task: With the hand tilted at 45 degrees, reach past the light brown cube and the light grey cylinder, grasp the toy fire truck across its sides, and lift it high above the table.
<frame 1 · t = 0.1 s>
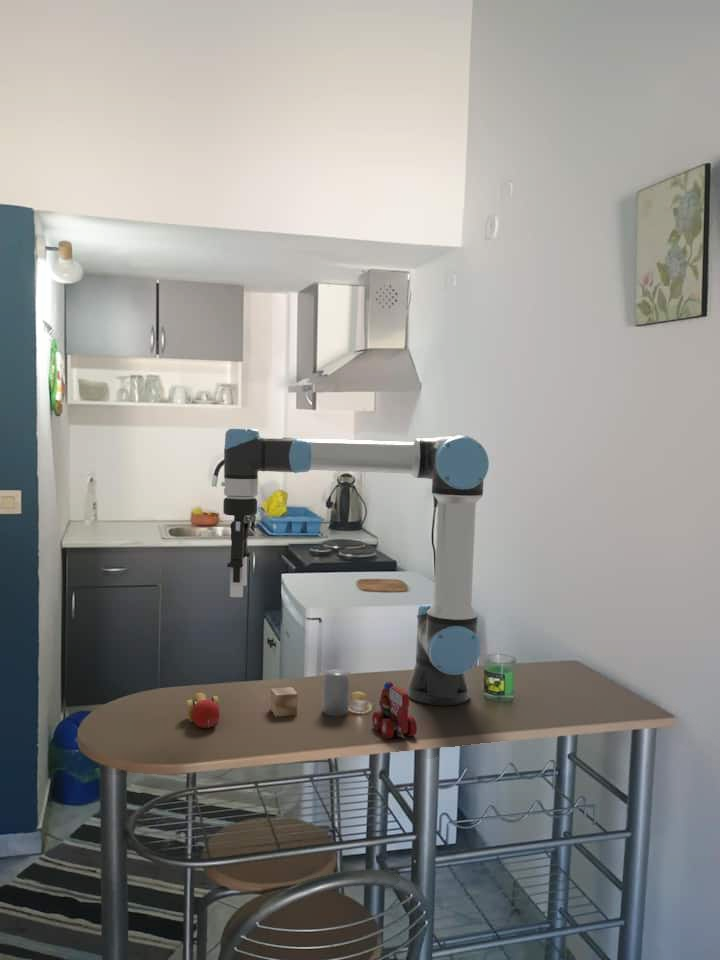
hand: (238, 591, 189), 28 cm above the table, tool pointing down, fingers open, 13 cm apart
kendama: (202, 718, 187), on the table
toy fire truck: (393, 733, 182), on the table
light grey cylinder: (335, 711, 194), on the table
light brown cube: (283, 712, 192), on the table
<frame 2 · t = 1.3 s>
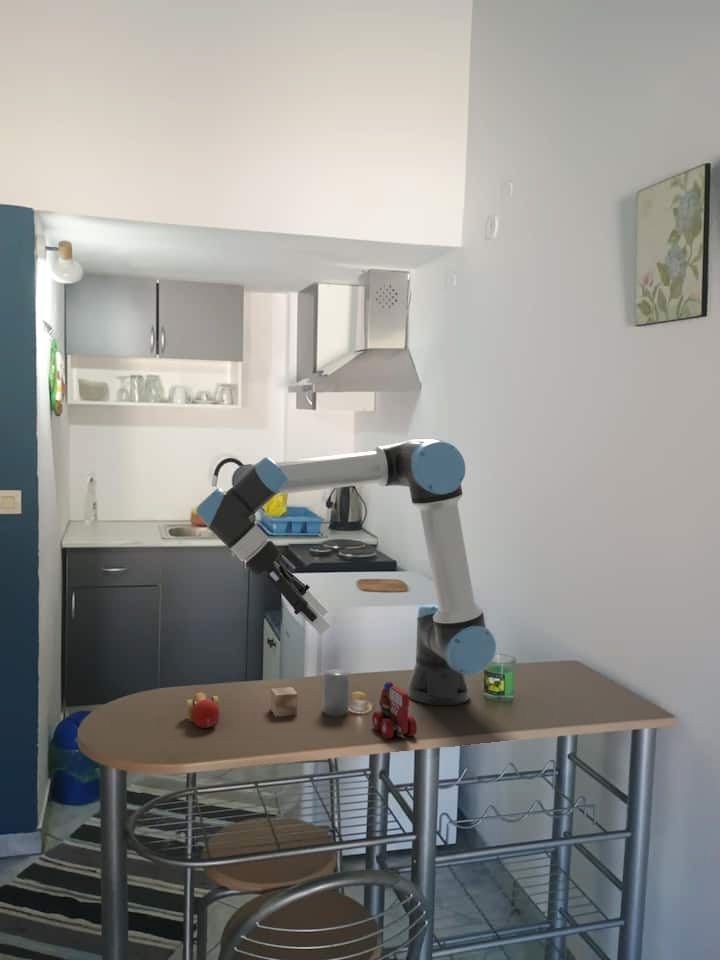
hand: (324, 622, 180), 24 cm above the table, tool tilted 45°, fingers open, 13 cm apart
nothing on the table moved.
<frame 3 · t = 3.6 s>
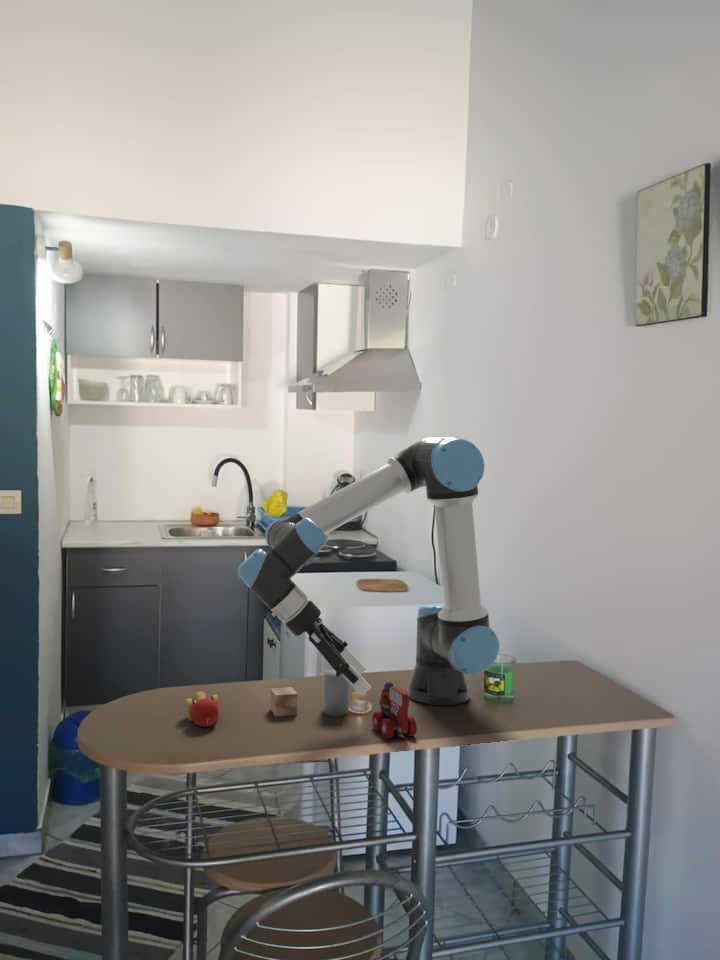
hand: (364, 681, 181), 11 cm above the table, tool tilted 45°, fingers open, 13 cm apart
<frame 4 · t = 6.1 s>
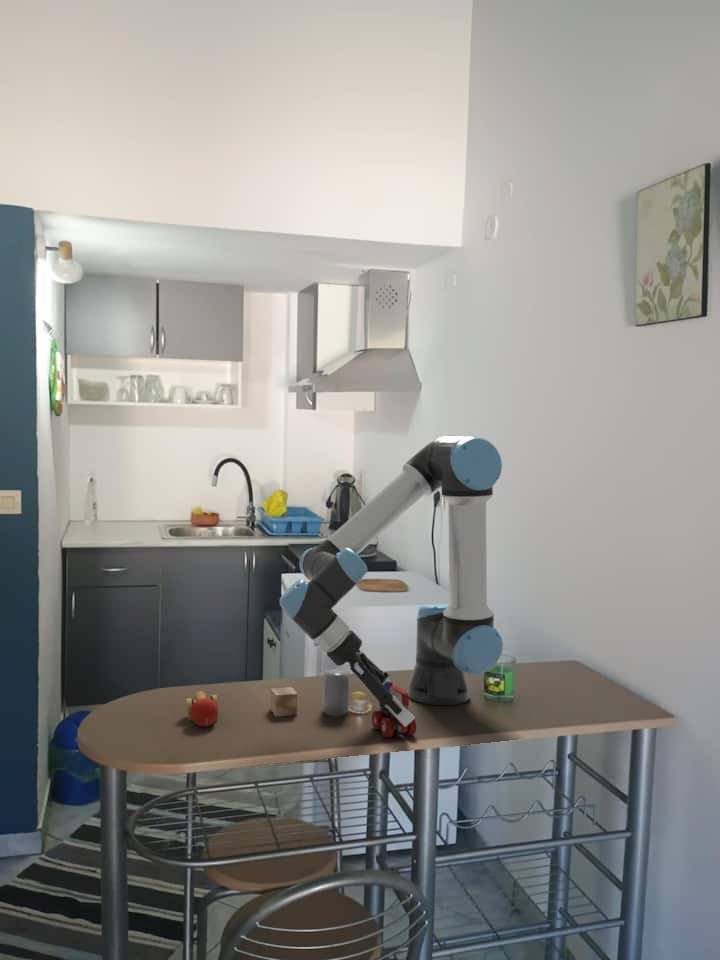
hand: (406, 712, 182), 4 cm above the table, tool tilted 45°, fingers closed on toy fire truck, 11 cm apart
toy fire truck: (392, 732, 182), on the table, touching gripper
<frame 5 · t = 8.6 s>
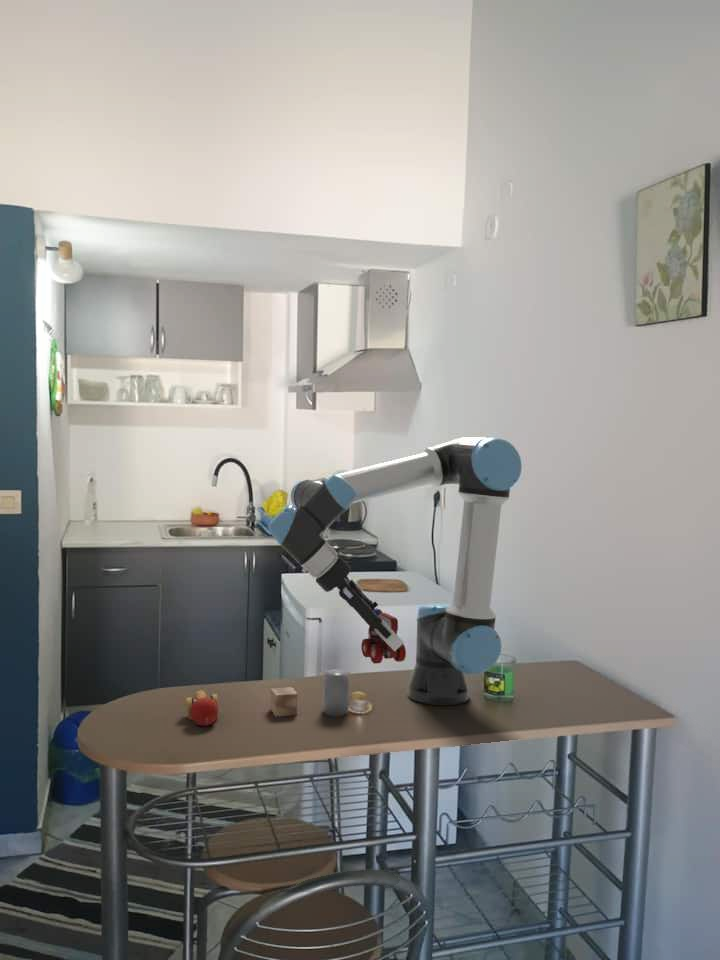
hand: (395, 639, 181), 20 cm above the table, tool tilted 45°, fingers closed on toy fire truck, 11 cm apart
toy fire truck: (382, 659, 182), point 16 cm above the table, touching gripper
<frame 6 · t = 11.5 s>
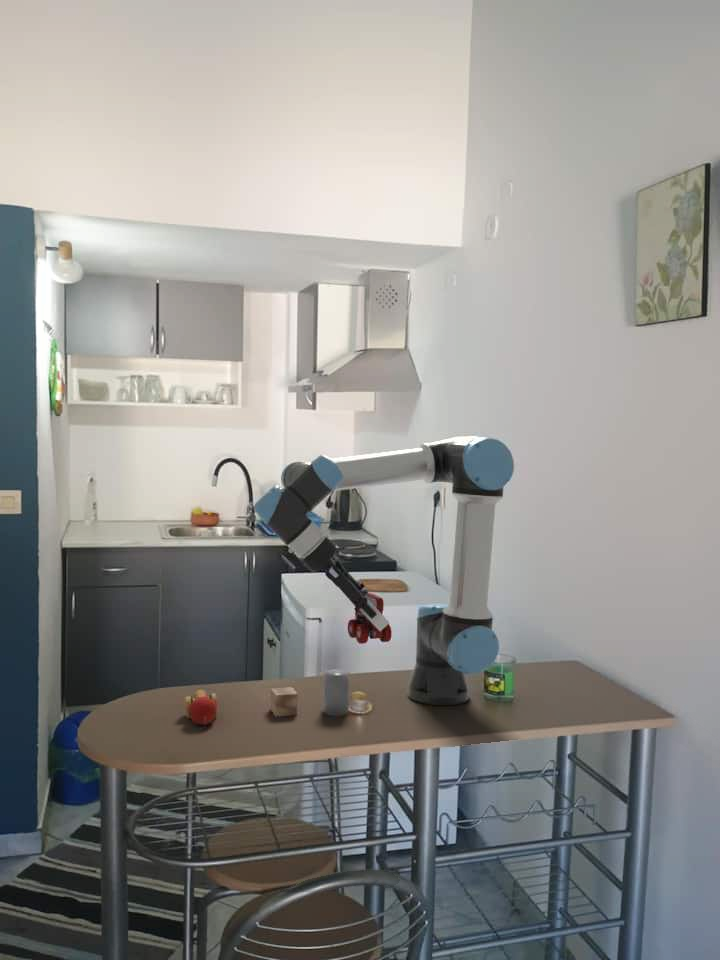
hand: (381, 620, 181), 24 cm above the table, tool tilted 45°, fingers closed on toy fire truck, 11 cm apart
toy fire truck: (368, 640, 182), point 20 cm above the table, touching gripper
at the end: toy fire truck point 19.7 cm above the table; the gripper is holding toy fire truck; light grey cylinder moved 0.0 cm from its start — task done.
